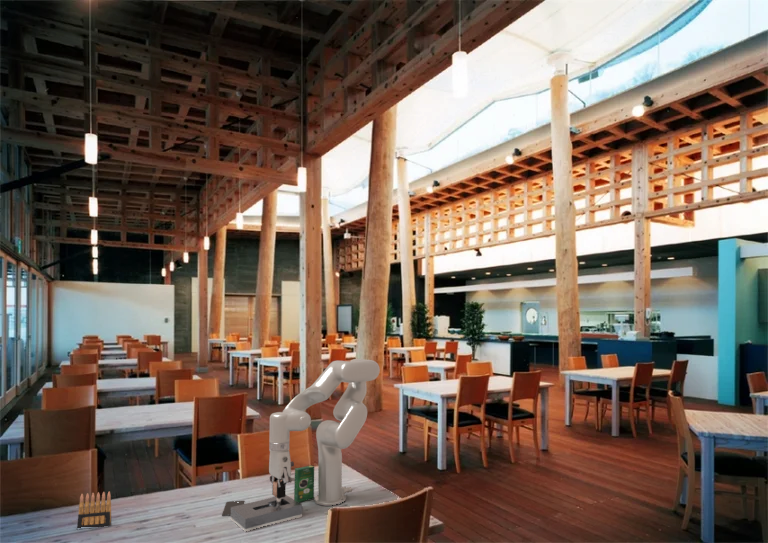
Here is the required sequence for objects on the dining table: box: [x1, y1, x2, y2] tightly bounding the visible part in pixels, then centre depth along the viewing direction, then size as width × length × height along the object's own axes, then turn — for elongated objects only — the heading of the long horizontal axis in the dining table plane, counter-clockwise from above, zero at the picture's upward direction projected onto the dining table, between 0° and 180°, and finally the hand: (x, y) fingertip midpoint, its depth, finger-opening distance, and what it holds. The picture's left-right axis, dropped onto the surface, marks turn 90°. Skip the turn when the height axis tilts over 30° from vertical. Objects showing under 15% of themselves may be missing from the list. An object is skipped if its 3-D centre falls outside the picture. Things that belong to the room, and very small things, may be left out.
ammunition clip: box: [76, 491, 112, 529], centre depth 185 cm, size 11×2×12 cm, turn 105°
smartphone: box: [221, 500, 246, 517], centre depth 201 cm, size 7×1×15 cm
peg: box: [272, 480, 282, 507], centre depth 195 cm, size 4×4×11 cm
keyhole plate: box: [230, 494, 303, 533], centre depth 192 cm, size 22×14×4 cm, turn 127°
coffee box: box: [293, 465, 315, 503], centre depth 210 cm, size 8×3×13 cm, turn 129°
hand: (278, 495), depth 195 cm, fingers closed on peg, 3 cm apart
